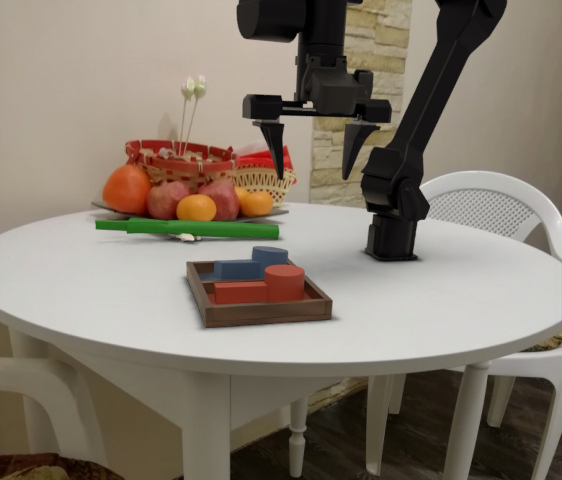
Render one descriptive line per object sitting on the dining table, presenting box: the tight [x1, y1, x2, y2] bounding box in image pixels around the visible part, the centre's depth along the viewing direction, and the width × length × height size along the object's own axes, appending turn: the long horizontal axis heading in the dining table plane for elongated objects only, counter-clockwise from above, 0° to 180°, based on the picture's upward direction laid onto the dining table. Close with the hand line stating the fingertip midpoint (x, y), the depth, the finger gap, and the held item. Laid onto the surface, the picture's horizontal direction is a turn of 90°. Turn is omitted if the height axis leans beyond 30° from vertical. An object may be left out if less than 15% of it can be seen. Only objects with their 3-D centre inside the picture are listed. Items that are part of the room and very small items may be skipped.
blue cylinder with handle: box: [214, 245, 289, 279], centre depth 68 cm, size 10×5×4 cm, turn 131°
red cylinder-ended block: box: [214, 265, 306, 304], centre depth 62 cm, size 10×5×4 cm, turn 103°
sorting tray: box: [185, 257, 334, 328], centre depth 66 cm, size 14×18×2 cm
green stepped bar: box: [94, 217, 280, 242], centre depth 90 cm, size 5×3×30 cm
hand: (313, 179), depth 74 cm, fingers open, 9 cm apart
